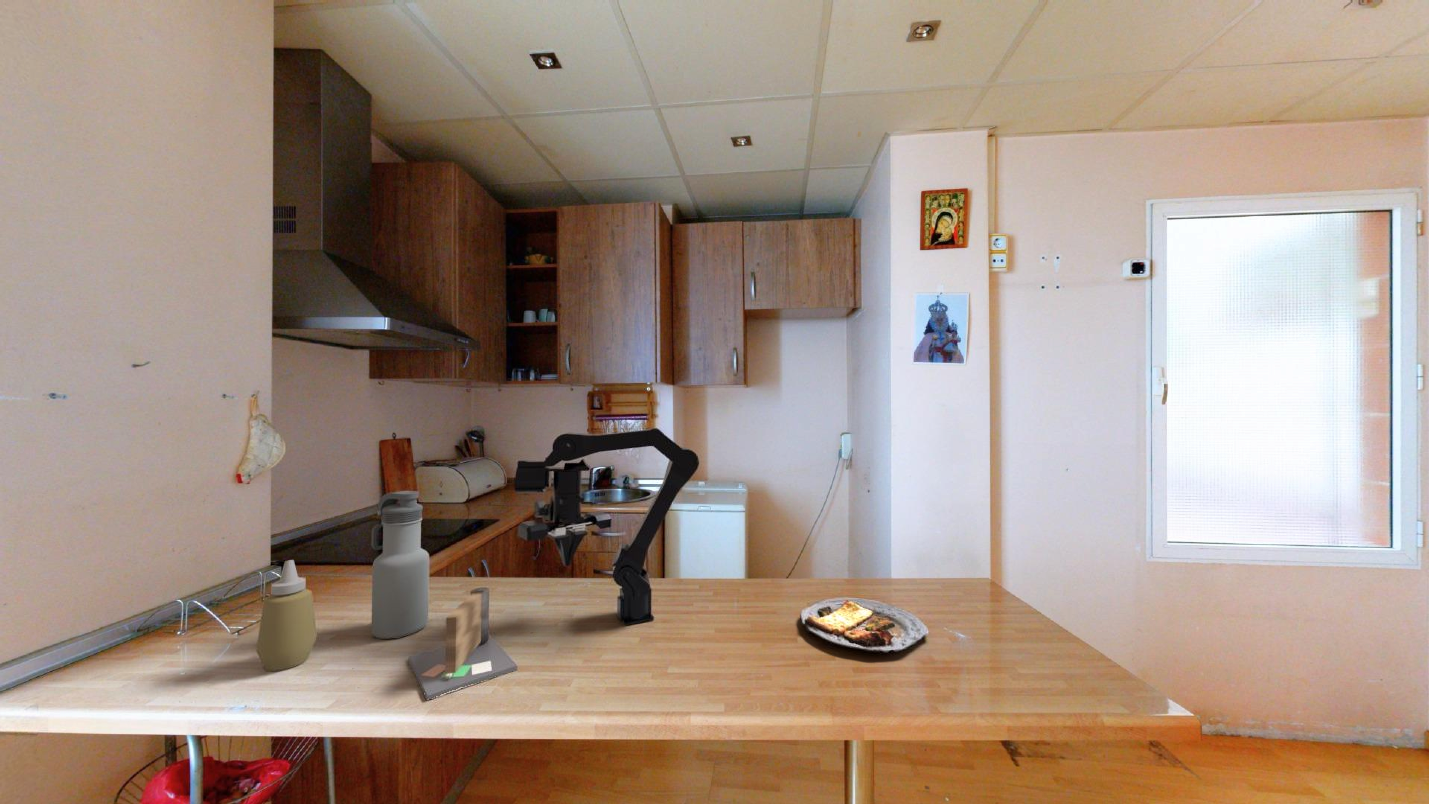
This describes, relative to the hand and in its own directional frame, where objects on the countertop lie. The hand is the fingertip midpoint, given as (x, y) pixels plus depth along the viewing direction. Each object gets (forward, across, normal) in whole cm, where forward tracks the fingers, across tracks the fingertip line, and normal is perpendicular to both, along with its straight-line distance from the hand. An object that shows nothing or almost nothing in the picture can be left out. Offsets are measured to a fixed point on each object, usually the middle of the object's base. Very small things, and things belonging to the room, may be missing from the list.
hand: (566, 565), depth 101 cm
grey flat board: (+12, +21, +4) cm, 25 cm away
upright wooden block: (+11, +20, +4) cm, 23 cm away
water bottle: (+12, +27, -20) cm, 35 cm away
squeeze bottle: (+12, +44, -17) cm, 49 cm away
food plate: (+12, -44, +43) cm, 63 cm away
